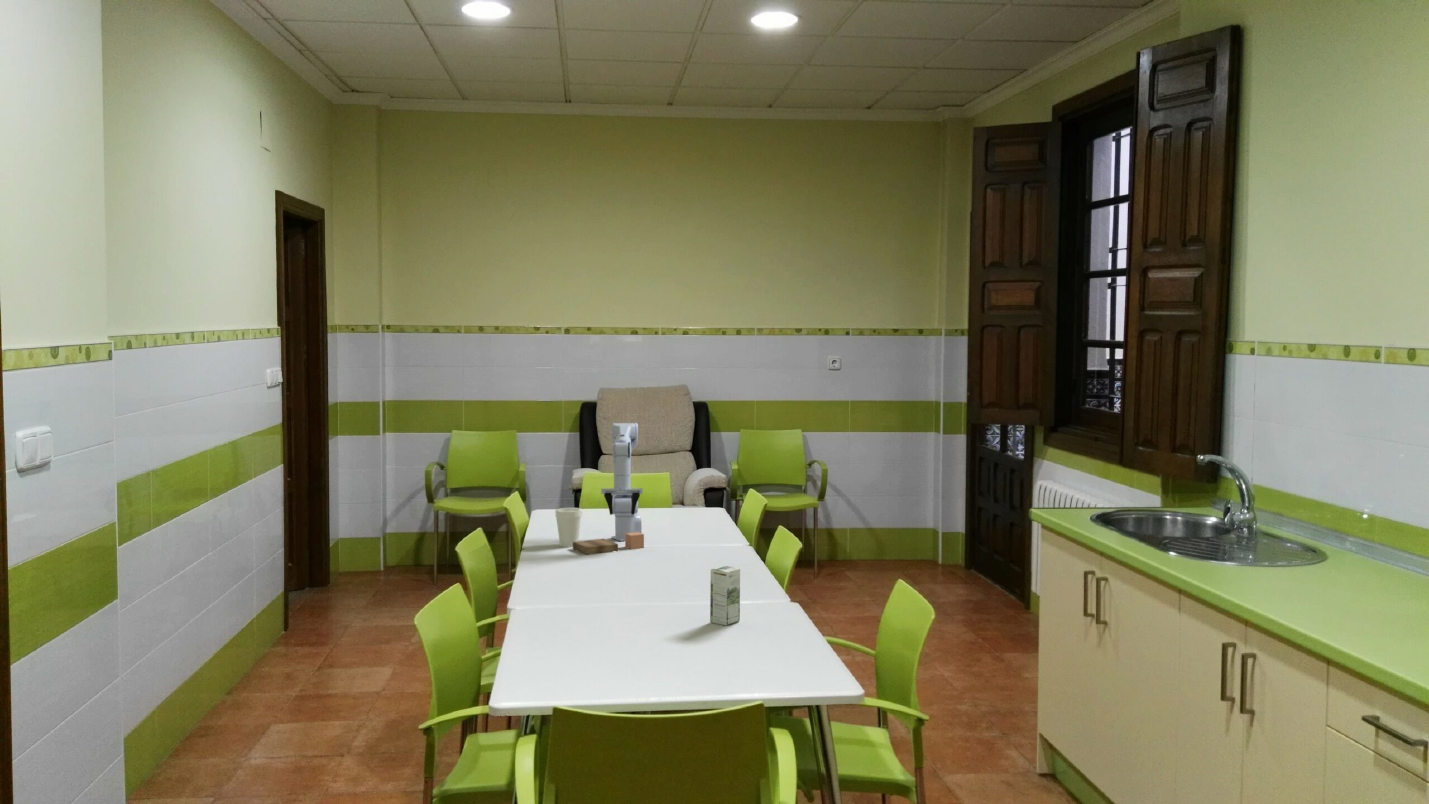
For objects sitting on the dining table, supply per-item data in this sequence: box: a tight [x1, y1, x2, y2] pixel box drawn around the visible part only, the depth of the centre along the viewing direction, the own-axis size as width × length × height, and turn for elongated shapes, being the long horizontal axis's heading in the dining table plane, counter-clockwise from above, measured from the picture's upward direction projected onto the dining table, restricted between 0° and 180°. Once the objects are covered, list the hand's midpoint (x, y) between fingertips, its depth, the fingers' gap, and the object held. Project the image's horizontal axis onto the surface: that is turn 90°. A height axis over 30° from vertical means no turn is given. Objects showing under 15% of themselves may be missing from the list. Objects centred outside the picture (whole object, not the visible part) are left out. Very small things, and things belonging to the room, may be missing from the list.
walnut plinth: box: [572, 538, 619, 556], centre depth 375 cm, size 12×12×3 cm
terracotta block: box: [624, 532, 645, 550], centre depth 379 cm, size 5×5×5 cm
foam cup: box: [555, 507, 583, 548], centre depth 383 cm, size 10×9×13 cm
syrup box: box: [709, 565, 741, 626], centre depth 279 cm, size 6×6×14 cm
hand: (621, 514), depth 375 cm, fingers open, 7 cm apart
